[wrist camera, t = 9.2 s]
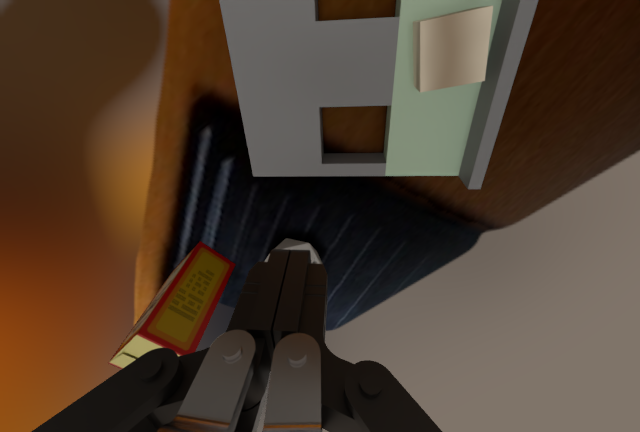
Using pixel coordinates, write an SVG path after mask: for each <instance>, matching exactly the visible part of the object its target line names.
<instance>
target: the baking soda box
mask: <svg viewBox="0 0 640 432" xmlns="http://www.w3.org/2000/svg"><path fill="white" fill-rule="evenodd" d="M234 267H235V264H234V263H233V262H231V261H230V260H228V259H227V258H225V257H224V256H222V255H221V254H219V253H217V252H216V251H214V250H213V249H211V248H210V247H208V246H207V245H205V244H204V243H202V242H201V241H200V242H199V243H198V244H197V245H196V246H195V247H194V248H193V249H192V251H191V252H190V253H189V254H188V255H187V256H186V257H185V258H184V259H183V260H182V262H181V263H180V264H179V265H178V266H177V267H176V268H175V269H174V270H173V271H172V273H171V274H170V276H169V277H168V279H167V280H166V281H165V283H164V284H163V286H162V287H161V288H160V290H159V291H158V293H157V294H156V296H155V297H154V298H153V300H152V301H151V303H150V304H149V306H148V307H147V308H146V310H145V311H144V313H143V314H142V316H141V317H140V318H139V320H138V321H137V323H136V324H135V325H134V327H133V328H132V330H131V331H130V333H129V334H128V335H127V337H126V339H125V340H124V341H123V343H122V344H121V345H120V347H119V348H118V350H117V351H116V353H115V354H114V355H113V357H112V358H111V360H110V361H109V364H111V365H113V366H116V367H118V368H120V369H123V368H124V367H126V366H127V365H129V364H130V363H132V362H133V361H135V360H136V359H137V358H139V357H140V356H142V355H143V354H145V353H147V352H149V351H151V350H153V349H157V348H169V349H172V350H174V351H175V352H176V354H177V355H178V356H182V355H186V354H190V353H193V352H195V351H196V348H197V346H198V344H199V342H200V340H201V338H202V336H203V333H204V331H205V329H206V327H207V325H208V323H209V320H210V318H211V316H212V314H213V312H214V310H215V307H216V305H217V303H218V301H219V299H220V297H221V295H222V292H223V290H224V288H225V286H226V284H227V282H228V279H229V277H230V275H231V273H232V271H233V269H234Z"/></svg>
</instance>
